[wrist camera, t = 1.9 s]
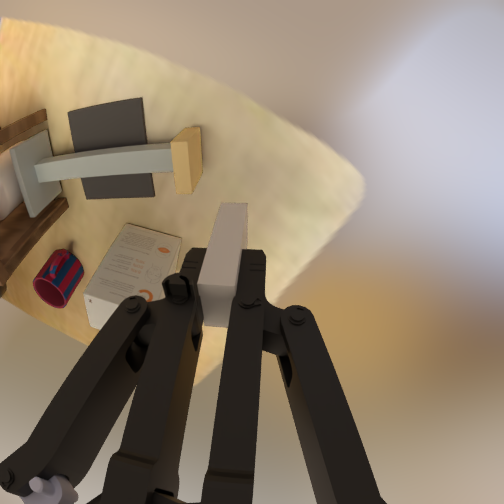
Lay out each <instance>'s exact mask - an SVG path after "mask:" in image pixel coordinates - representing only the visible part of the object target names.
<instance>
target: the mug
mask: <svg viewBox="0 0 504 504" xmlns="http://www.w3.org/2000/svg"><path fill="white" fill-rule="evenodd" d="M83 275H84V271H83V267H82V265H81V263H80V262H79V260H78V259H77V258H76V257H75V256H74V255H73V254H71V253H70V252H68V251H67V250H65V249H62V250H56V251H55V252H54V253H53V254H52V255H51V257H50V258H49V259H48V261H47V262H46V263H45V265H44V266H43V267H42V269H41V270H40V271H39V273H38V274H37V276H36V277H35V279H34V280H33V286H34V289H35V291H36V293H37V294H38V295H39V297H40V298H41V299H42V300H43V301H45V302H46V303H47V304H49V305H51V306H53V307H55V308H64V307H65V306H66V304H67V303H68V301H69V299H70V297H71V296H72V294H73V292H74V291H75V289H76V287H77V286H78V284H79V282H80V281H81V279H82V277H83Z"/></svg>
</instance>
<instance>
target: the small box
mask: <svg viewBox="0 0 504 504" xmlns="http://www.w3.org/2000/svg"><path fill="white" fill-rule="evenodd" d="M180 245H181V238H178V237H174V236H171V235H167V234H163V233H160V232H156V231H153V230H149V229H145V228H142V227H138V226H134V225H131V224H127V223H126V224H125V226H124V227H123V229H122V230H121V232H120V233H119V235H118V236H117V238H116V239H115V241H114V242H113V244H112V245H111V247H110V249H109V250H108V252H107V253H106V255H105V257H104V258H103V260H102V262H101V263H100V265H99V267H98V268H97V270H96V272H95V273H94V275H93V277H92V279H91V280H90V282H89V284H88V285H87V287H86V289H85V291H84V293H83V294H84V299H85V305H86V310H87V314H88V319H89V323H90V326H91V327H93V328H96V329H99V330H101V328H102V327H103V326H104V324H105V323H106V322H107V320H108V319H109V318H110V316H111V315H112V314H113V312H114V311H115V310H116V309H117V307H118V306H119V305H120V303H121V302H122V301H123V300H124V299H126V298H128V297H130V296H134V295H137V296H142V297H143V298H145V299H146V301H147V302H150V301H156V300H160V299H163V298H165V294H164V290H163V286H162V281H163V280H164V279H165V278H166V277H167V276H169V275H172V274H174V273H175V271H176V266H177V260H178V255H179V250H180Z"/></svg>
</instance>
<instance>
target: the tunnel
mask: <svg viewBox="0 0 504 504" xmlns="http://www.w3.org/2000/svg"><path fill="white" fill-rule="evenodd" d="M45 120H47V116H46V109H43V110H40V111H37V112H35V113H33V114H31V115H29V116H27V117H24V118H22V119H20V120H18V121H16V122H14V123H12V124H10V125H8V126H6V127H5V128H3V129H0V145H2V144H3V143H5V142H7V141H8V140H10V139H12V138H13V137H15V136H17V135H19V134H20V133H22V132H24V131H26V130H28V129H30V128H32V127H33V126H35V125H37V124H39V123H41V122H43V121H45ZM68 207H69V206H68V203H67V200H66V198H58V199H57V200H52V201H51V202H50V203H49V204H48V205H47V206H46V207H45V208H44V209H43V210H42V211H41V212H40V213H39V214H38V215H37V216H36V217H30V215H29V213H28V210H27V207H26V205H25V203H21V204H20V205H19V206H18V207H17V208H15V209H14V210H13V211H12V212H11V213H10V214H9V215H8V216H7V217H6V218H5V219H3V220H0V286H3V285H4V284H5V283H6V281H7V280H8V279H9V277H10V276H11V274H12V273H13V272H14V270H15V269H16V268H17V266H18V265H19V264H20V263H21V261H22V260H23V259H24V258H25V256H26V255H27V254H28V253H29V251H30V250H31V249H32V248H33V246H34V245H35V244H36V243H37V242H38V241H39V239H40V238H41V237H42V236H43V235H44V234H45V232H46V231H47V230H48V229H49V228H50V227H51V226H52V225H53V223H54V222H55V221H56V220H57V219H58V218H59V217H60V216H61V215H62V214H63V213H64V212H65V211H66V210H67V208H68Z"/></svg>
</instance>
